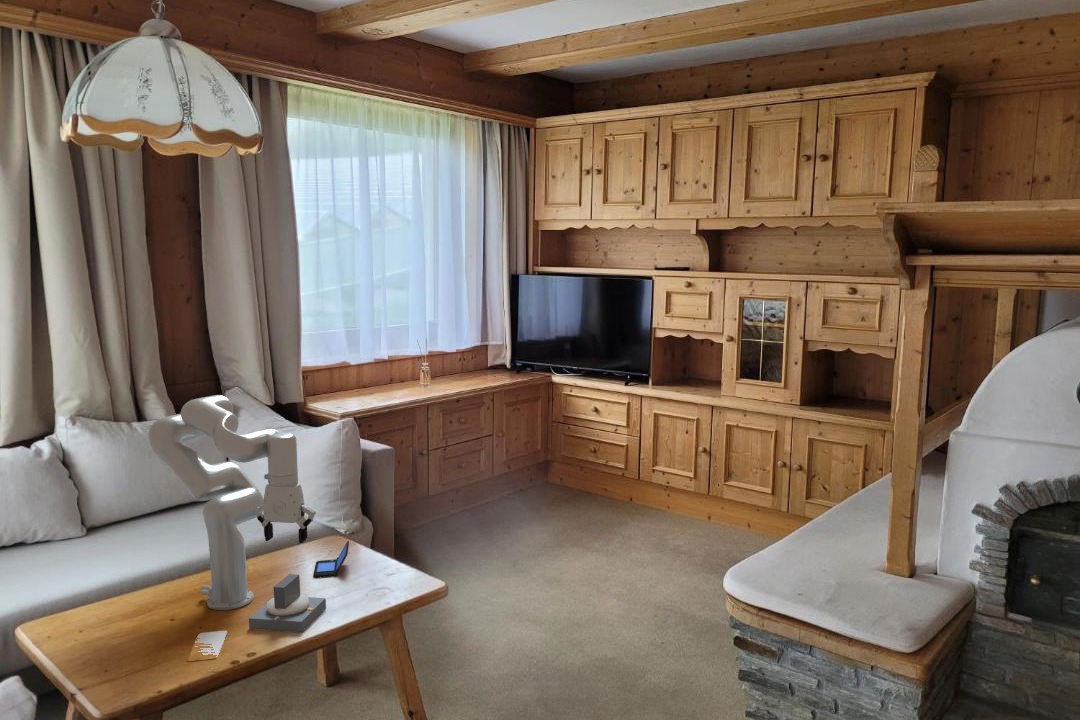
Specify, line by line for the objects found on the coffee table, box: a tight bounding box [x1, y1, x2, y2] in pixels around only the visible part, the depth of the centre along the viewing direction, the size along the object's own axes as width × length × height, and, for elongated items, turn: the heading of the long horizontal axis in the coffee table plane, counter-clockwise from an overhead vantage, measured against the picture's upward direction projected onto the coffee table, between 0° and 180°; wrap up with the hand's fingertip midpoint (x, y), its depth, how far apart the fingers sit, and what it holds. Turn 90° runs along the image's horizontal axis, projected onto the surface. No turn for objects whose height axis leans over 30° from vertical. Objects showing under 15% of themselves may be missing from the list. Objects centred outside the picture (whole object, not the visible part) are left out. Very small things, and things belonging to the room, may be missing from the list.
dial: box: [266, 573, 309, 616], centre depth 220 cm, size 11×11×8 cm
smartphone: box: [194, 630, 228, 658], centre depth 206 cm, size 7×1×15 cm
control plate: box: [248, 596, 327, 633], centre depth 221 cm, size 15×15×3 cm
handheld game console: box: [312, 540, 350, 579], centre depth 256 cm, size 12×11×7 cm
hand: (285, 540), depth 219 cm, fingers open, 9 cm apart
